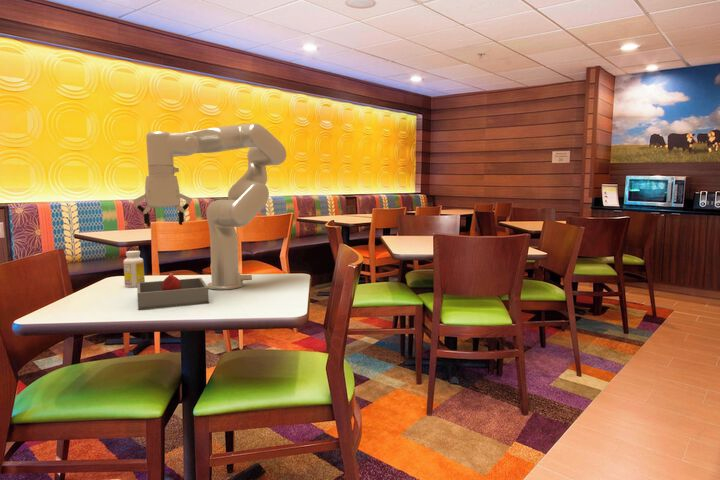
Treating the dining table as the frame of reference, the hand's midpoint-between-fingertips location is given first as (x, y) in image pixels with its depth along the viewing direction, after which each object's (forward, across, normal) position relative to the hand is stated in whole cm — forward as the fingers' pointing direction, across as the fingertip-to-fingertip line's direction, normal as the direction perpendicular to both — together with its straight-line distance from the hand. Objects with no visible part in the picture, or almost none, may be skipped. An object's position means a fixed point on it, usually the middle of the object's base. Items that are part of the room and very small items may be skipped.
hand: (164, 225), depth 155 cm
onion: (+23, 0, +4) cm, 24 cm away
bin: (+24, 0, +4) cm, 24 cm away
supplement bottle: (+24, +9, -28) cm, 38 cm away
